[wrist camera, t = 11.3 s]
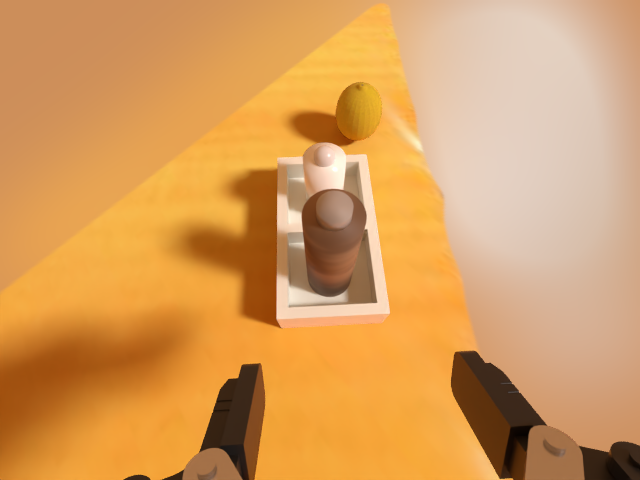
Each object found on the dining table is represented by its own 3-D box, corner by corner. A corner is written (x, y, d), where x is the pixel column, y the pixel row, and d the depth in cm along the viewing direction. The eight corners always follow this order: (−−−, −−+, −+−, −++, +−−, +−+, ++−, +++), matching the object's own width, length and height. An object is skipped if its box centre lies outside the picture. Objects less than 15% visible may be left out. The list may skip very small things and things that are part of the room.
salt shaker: (299, 205, 36) (292, 151, 28) (322, 183, 37) (321, 125, 29) (326, 225, 35) (327, 174, 27) (349, 201, 36) (356, 146, 28)
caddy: (382, 322, 32) (390, 313, 28) (281, 328, 31) (276, 319, 28) (362, 176, 40) (366, 154, 36) (281, 179, 39) (277, 157, 36)
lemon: (325, 134, 43) (327, 81, 35) (357, 116, 44) (364, 61, 37) (353, 160, 41) (360, 110, 34) (384, 139, 42) (398, 87, 35)
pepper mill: (298, 276, 32) (286, 206, 20) (328, 247, 34) (333, 167, 22) (330, 306, 31) (336, 250, 19) (359, 275, 32) (383, 205, 20)
